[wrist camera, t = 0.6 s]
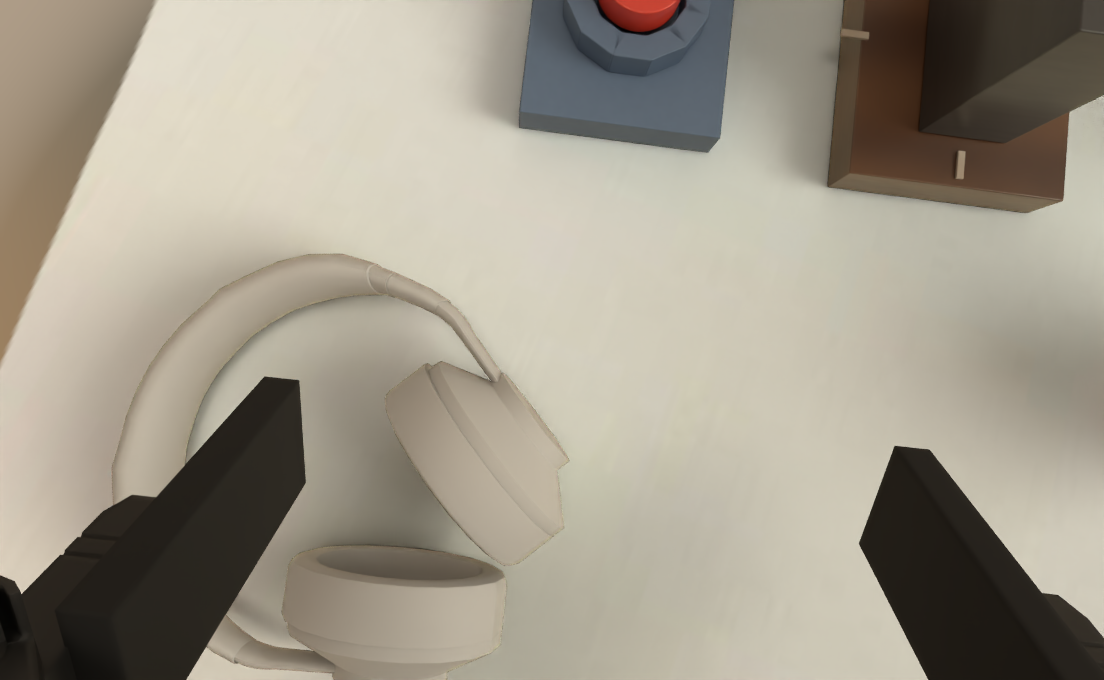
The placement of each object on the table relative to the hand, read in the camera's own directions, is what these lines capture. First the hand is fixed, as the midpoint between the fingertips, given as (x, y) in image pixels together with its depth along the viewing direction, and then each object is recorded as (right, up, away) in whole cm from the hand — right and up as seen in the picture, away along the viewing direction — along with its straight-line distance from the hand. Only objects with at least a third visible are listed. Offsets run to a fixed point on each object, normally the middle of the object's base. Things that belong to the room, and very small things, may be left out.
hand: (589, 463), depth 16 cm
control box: (+3, +19, +21) cm, 29 cm away
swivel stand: (+20, +17, +22) cm, 34 cm away
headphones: (-11, -3, +19) cm, 22 cm away
